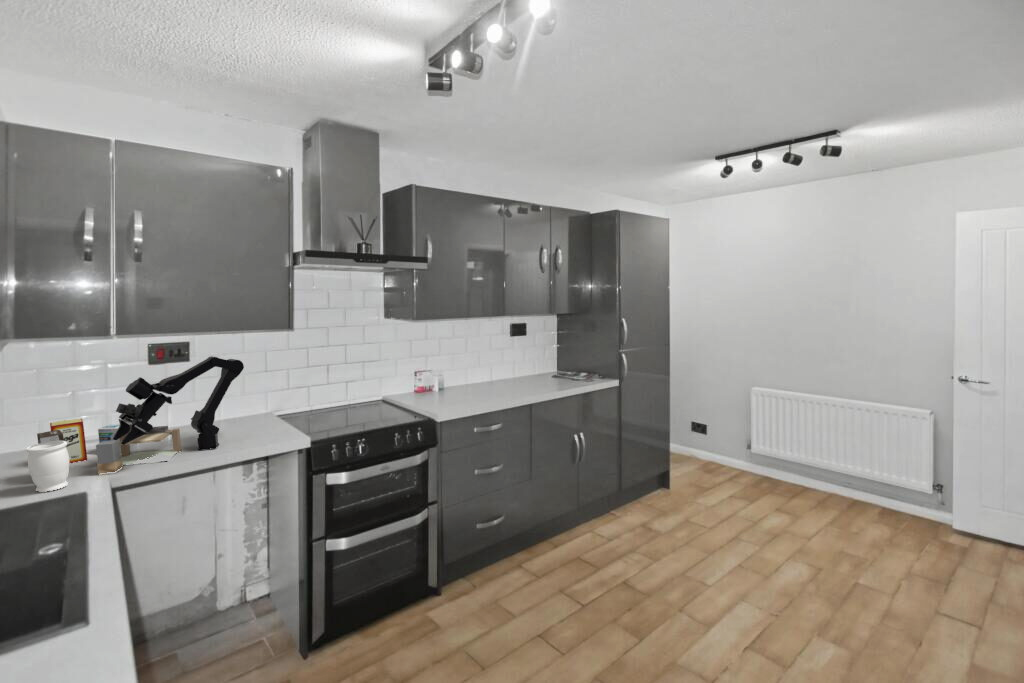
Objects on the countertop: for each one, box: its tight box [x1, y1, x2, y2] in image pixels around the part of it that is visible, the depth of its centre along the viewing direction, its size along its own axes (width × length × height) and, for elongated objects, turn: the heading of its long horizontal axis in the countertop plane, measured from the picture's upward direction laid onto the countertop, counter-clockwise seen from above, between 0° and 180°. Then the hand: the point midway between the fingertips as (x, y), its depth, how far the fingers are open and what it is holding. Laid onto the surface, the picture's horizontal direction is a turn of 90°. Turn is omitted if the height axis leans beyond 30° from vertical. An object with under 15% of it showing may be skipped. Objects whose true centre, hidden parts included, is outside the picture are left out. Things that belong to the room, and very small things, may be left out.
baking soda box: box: [49, 417, 88, 464], centre depth 202 cm, size 10×6×16 cm
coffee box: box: [36, 430, 64, 444], centre depth 185 cm, size 9×6×16 cm
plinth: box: [96, 457, 123, 475], centre depth 190 cm, size 5×5×4 cm
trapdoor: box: [119, 425, 172, 445], centre depth 205 cm, size 14×14×3 cm
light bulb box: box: [97, 423, 138, 453], centre depth 213 cm, size 11×7×11 cm, turn 92°
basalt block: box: [95, 440, 122, 464], centre depth 189 cm, size 5×5×7 cm
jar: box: [25, 441, 70, 493], centre depth 175 cm, size 11×10×15 cm
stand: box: [120, 428, 182, 465], centre depth 204 cm, size 20×15×9 cm
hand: (118, 441), depth 192 cm, fingers open, 9 cm apart
